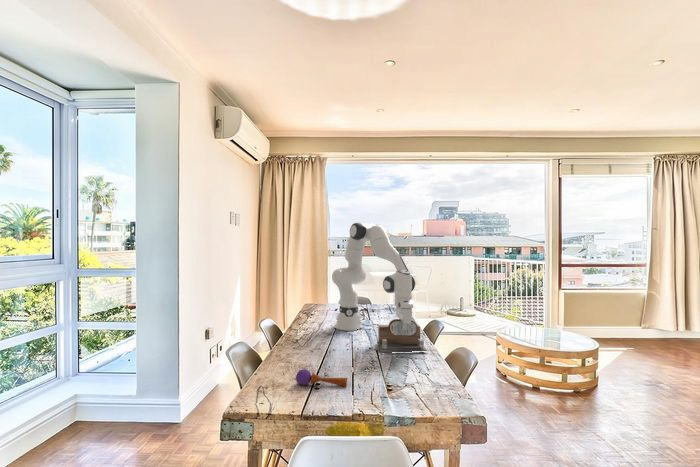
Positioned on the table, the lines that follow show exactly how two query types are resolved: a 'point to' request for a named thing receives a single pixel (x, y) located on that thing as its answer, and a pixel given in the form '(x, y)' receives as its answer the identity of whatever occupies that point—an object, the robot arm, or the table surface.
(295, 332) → the table surface
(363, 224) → the robot arm
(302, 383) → the kendama
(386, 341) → the cabinet
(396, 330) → the tin
